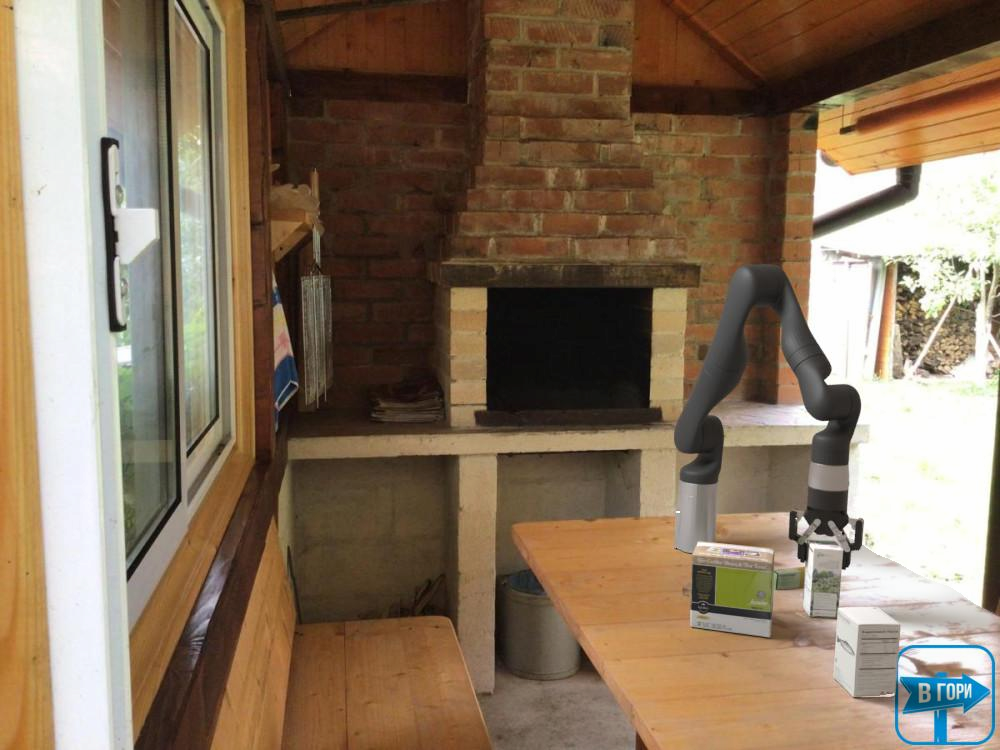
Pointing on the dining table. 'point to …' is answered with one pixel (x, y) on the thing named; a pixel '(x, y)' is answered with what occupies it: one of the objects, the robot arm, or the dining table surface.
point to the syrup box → (822, 578)
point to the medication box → (789, 578)
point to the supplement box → (866, 651)
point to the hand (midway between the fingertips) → (823, 565)
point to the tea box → (732, 588)
